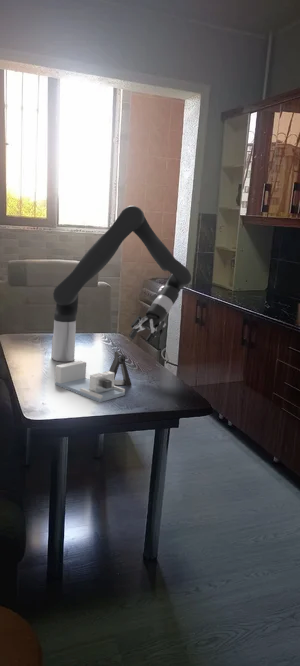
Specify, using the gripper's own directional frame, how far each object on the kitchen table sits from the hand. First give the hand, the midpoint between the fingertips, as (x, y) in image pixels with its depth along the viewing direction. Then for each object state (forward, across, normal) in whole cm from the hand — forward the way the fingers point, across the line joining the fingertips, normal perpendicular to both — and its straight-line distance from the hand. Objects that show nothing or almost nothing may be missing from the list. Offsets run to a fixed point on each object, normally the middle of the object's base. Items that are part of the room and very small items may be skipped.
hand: (138, 340), depth 197 cm
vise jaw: (+27, +7, -7) cm, 29 cm away
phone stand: (+18, 0, +4) cm, 19 cm away
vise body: (+28, -1, -6) cm, 29 cm away
